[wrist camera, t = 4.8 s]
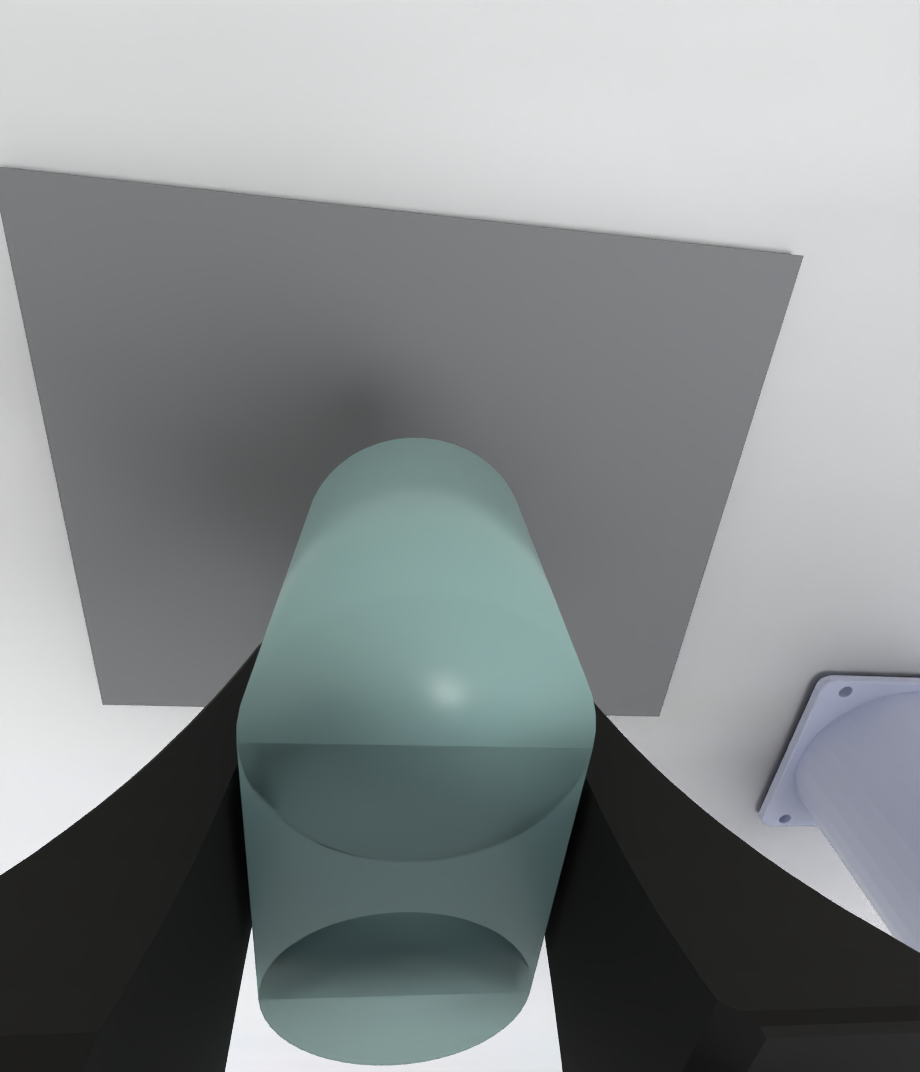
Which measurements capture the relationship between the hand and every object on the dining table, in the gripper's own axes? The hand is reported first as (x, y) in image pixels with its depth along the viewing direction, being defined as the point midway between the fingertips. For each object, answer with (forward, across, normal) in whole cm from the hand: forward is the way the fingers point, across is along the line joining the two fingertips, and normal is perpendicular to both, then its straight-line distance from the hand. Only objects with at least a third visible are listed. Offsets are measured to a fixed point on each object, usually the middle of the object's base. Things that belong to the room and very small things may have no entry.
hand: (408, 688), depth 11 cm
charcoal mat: (+9, 0, 0) cm, 9 cm away
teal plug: (+1, 0, +1) cm, 2 cm away
